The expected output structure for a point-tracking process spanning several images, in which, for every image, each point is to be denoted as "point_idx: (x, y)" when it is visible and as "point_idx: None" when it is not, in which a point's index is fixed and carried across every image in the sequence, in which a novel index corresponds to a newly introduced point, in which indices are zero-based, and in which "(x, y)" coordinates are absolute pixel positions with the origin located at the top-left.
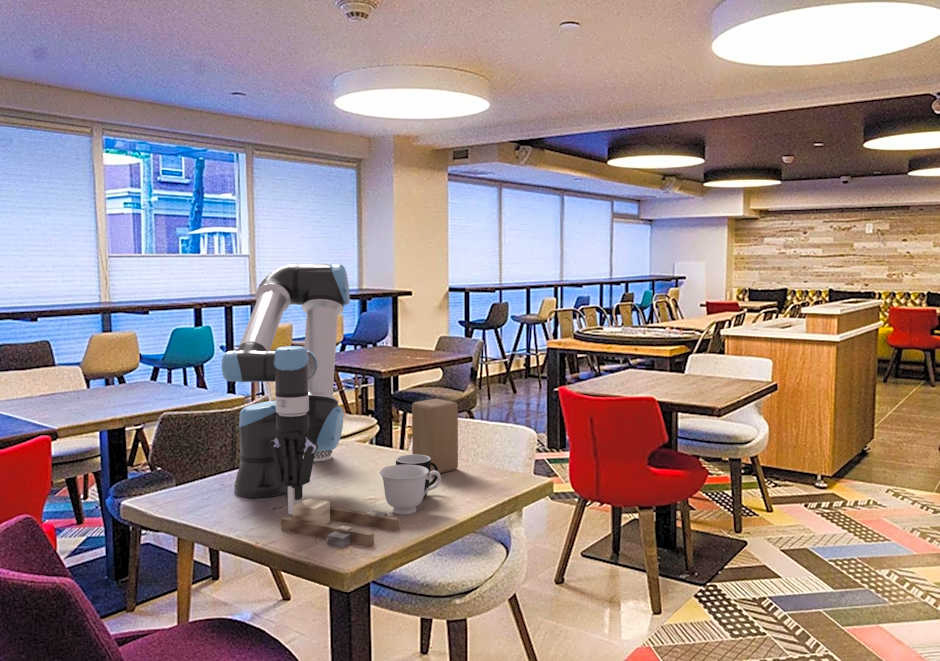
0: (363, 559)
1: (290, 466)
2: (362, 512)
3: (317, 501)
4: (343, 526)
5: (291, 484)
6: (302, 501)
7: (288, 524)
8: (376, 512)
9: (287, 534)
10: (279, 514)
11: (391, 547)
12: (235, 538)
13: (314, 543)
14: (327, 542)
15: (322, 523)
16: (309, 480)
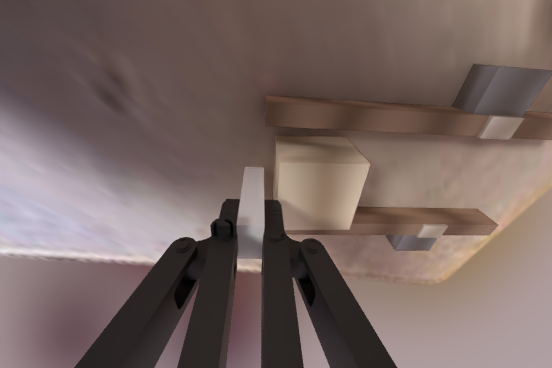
0: (459, 255)
1: (226, 336)
2: (466, 121)
3: (328, 178)
4: (428, 228)
5: (237, 245)
6: (280, 195)
7: None
8: (512, 81)
9: None
10: (176, 142)
11: (512, 208)
12: None
13: (361, 240)
14: (388, 239)
15: (370, 223)
16: (323, 250)
